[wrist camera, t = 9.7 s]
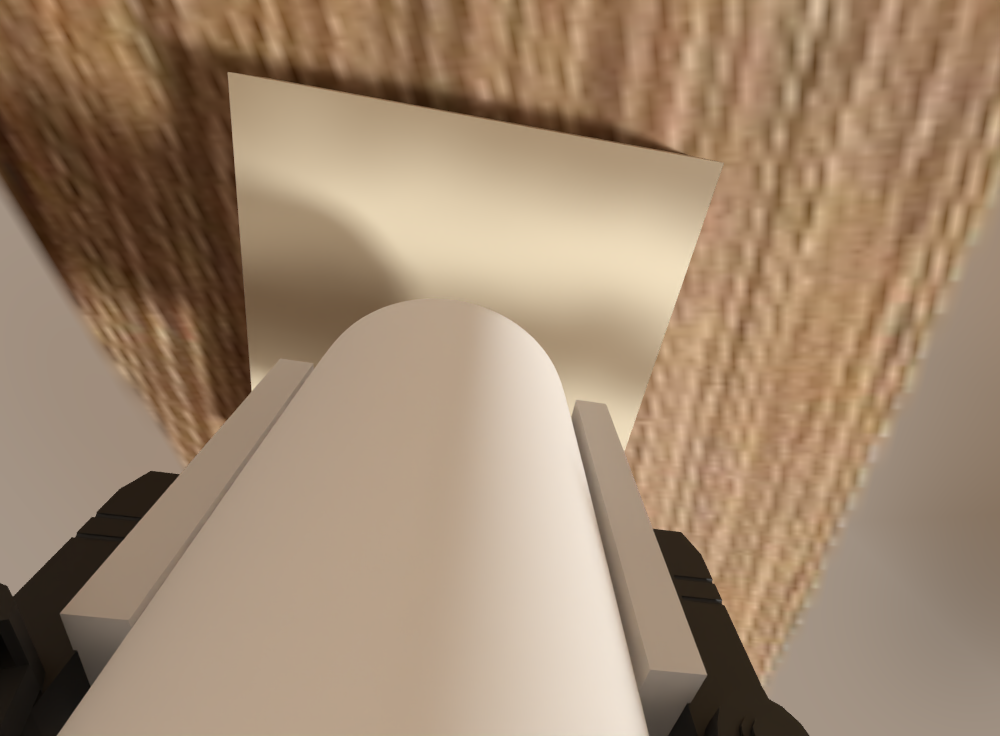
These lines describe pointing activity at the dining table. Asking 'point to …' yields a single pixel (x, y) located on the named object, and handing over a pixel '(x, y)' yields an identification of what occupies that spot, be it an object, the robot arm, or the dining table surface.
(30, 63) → the dining table surface
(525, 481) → the can
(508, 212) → the riser
